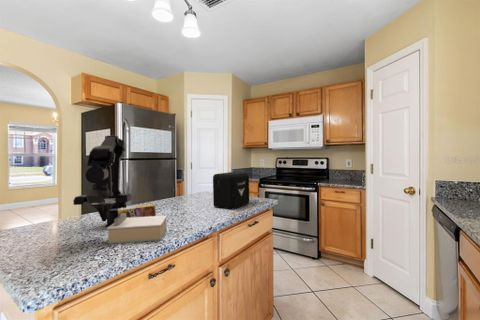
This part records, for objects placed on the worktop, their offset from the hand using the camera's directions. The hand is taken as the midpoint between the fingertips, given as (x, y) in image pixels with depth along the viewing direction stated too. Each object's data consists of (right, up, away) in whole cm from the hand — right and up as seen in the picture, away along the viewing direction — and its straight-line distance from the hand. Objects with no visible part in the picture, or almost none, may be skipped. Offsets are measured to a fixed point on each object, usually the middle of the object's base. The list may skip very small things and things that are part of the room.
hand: (104, 221), depth 89 cm
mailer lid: (+13, -1, +2) cm, 13 cm away
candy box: (+13, -2, +19) cm, 23 cm away
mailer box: (+13, -6, +2) cm, 15 cm away
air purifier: (+48, -5, +54) cm, 73 cm away
